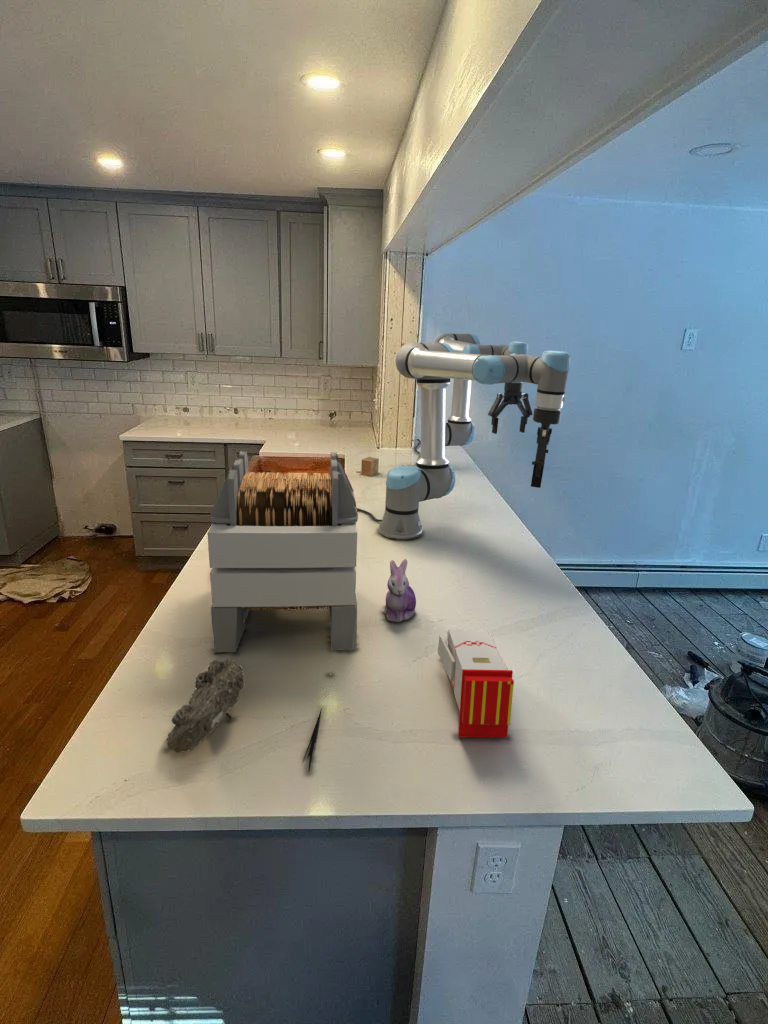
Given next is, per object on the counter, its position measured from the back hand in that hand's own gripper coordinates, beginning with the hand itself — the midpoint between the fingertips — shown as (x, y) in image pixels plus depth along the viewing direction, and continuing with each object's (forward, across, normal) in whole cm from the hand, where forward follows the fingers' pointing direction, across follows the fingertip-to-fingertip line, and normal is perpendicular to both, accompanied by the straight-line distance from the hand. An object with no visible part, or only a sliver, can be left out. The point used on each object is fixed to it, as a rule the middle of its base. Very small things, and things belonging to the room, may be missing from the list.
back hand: (508, 432), depth 239 cm
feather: (+27, -112, -115) cm, 163 cm away
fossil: (+27, -132, -108) cm, 173 cm away
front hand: (-2, -34, -69) cm, 77 cm away
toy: (+27, -81, -117) cm, 144 cm away
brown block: (+28, -46, +43) cm, 69 cm away
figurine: (+27, -82, -83) cm, 120 cm away
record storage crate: (+27, -110, -75) cm, 136 cm away
